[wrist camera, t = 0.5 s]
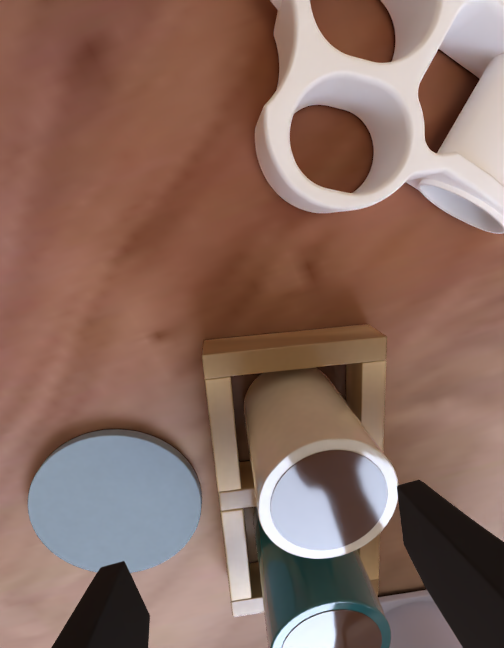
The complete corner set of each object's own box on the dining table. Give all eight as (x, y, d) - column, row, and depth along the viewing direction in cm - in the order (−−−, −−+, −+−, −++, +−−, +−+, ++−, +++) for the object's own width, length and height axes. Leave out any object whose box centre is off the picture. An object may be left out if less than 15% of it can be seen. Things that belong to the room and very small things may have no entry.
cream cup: (337, 442, 20) (397, 549, 14) (247, 452, 20) (262, 569, 13) (336, 357, 19) (402, 430, 12) (239, 367, 18) (252, 448, 12)
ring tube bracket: (438, 289, 18) (176, 140, 15) (678, -92, 15) (400, -380, 12) (485, 302, 15) (166, 118, 12) (807, -180, 12) (468, -606, 9)
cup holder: (363, 561, 23) (378, 594, 21) (231, 580, 22) (232, 617, 20) (368, 323, 19) (387, 336, 16) (203, 339, 18) (201, 354, 16)
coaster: (209, 553, 22) (209, 562, 21) (53, 575, 21) (48, 585, 20) (191, 419, 19) (191, 425, 18) (13, 439, 18) (7, 446, 18)
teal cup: (337, 543, 22) (390, 681, 16) (256, 555, 22) (273, 701, 15) (337, 474, 21) (394, 592, 14) (250, 485, 21) (266, 612, 14)
